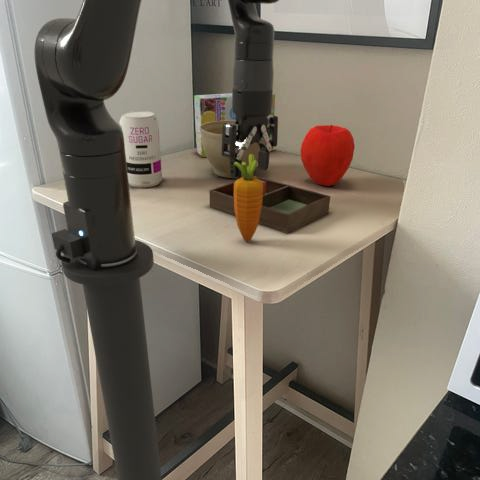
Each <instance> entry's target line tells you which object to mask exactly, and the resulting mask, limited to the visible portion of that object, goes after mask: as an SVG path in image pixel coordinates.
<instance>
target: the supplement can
mask: <svg viewBox="0 0 480 480" xmlns="http://www.w3.org/2000/svg"><path fill="white" fill-rule="evenodd" d="M118 122H119V123H118V124H119V126H120V127H121V129H122V131H123V136H124V144H125V154H126V164H127V173H128V182H129V186H131V187H134V188H140V189H141V188H152V187H156V186H159V184H160V183H161V182H162V181H163V172H162V158H161V144H160V130H159V129H160V128H159V120H158V119H157V117H156V114H155V113H154V112H153V111H147V110H133V111H126V112H123V113H121V117H120V119H119V121H118Z"/></svg>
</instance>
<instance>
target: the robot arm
mask: <svg viewBox="0 0 480 480" xmlns="http://www.w3.org/2000/svg"><path fill="white" fill-rule="evenodd" d="M279 1H280V0H227V3H228V7H229V12H230V17H231V20H232V21H231V22H232V25H233V32H234V42H233V43H234V45H233V46H234V47H233V49H234V50H233V51H234V52H233V53H234V54H233V58H234V59H233V68H232V87H231V88H232V91H231V93H232V111H233V113H234V114H235V116H236V119H235V123H234V124H229V123H224V124H223V131H222V156H224V157H228V158H229V159H230V175H231V177H232V178H231V179H234V180H238V179H240V178H241V171H240V170H239V168H238V167H236V166H235V165H234V163H235V162H238V163H239V164H241V165H242V160H240V159H241V157H242V155H243V153H244V151H245V150H247V149H248V146H249V145H251V144H253V143H257V145H258V147H259V149H260V150H259V152H258V164H257V169H259V170H260V171H267V170H269V165H270V152H272V151H271V149H272V147H273V148H276V147H277V146H278V134H279V133H278V132H279V131H278V130H279V117H278V116H277V115H274V116H273V115H269V114H270V113H271V111H272V95H273V94H274V92H273V91H274V76H275V75H274V71H275V70H274V49H275V27H274V25H273V24H272V23H271V22H270V21H268V20H265V19H263V18H261V17H260V16H259V14H258V10H257V6H256V4H262V5H271V4H276V3H278V2H279ZM141 4H142V0H82V3H81V6H80V8H79V11H78V14H77V16H76V18H71V17H70V18H68V17H67V18H66V17H60V18H59V17H58V18H54V19H51V20H48V21H47V22H46V23H44V24H43V25H42V27H41V28H40V29H39V31H38V33H37V35H36V36H35V37H36V38H35V41H34V64H35V71H36V75H37V76H36V77H37V80H38V85H39V89H40V94H41V98H42V103H43V107H44V111H45V116H46V119H47V123H48V125H49V128H50V130H51V132H52V133H53V135H54V137H55V140H56V144H57V148H58V153H59V158H60V164H61V169H62V175H63V181H64V185H65V186H64V187H65V191H66V197H67V201H64V202H63V204H62V206H63V212H64V219H65V223H66V228H64V229H60V230H58V231H54V232H51V239H52V243H53V247H54V250H56V251H55V256H56V258H57V259H58V260H59V261H60V262H61V261H64V262H67V263H69V262H70V261H71V260H70V259H69V258H67V257H63V255H64V254H65V255H67V256H69V257H71V258H73V260H75V261H77V262H79V263H80V264H82V265H84V266H86V267H88V268H90V269H92V270H94V271H97V270H100V269H107V268H115V267H119V266H123V265H125V264H128V263H130V262H131V261H133V260H134V259H135V258H136V256H137V249H136V245H135V240H136V237H135V227H134V219H133V211H132V201H131V192H130V191H131V190H130V184H129V182H128V173H127V164H126V154H125V144H124V136H123V131H122V129H121V127H120V123H118V122H117V121H116V120H115V119H114V118H113V117H112V116H111V114H110V112H109V111H108V109H107V107H106V104H105V101H107V100H109V99H111V98H112V97H113V96H115V95H116V94H117V93H118V92H119V90H120V89H121V88H122V86H123V83H124V81H125V80H126V76H127V73H128V70H129V65H130V61H131V57H132V52H133V51H132V50H133V46H134V41H135V34H136V29H137V24H138V19H139V15H140V14H139V13H140V9H141ZM270 134H271V135H272V140H270ZM239 140H240V141H241V142H242V143H240V142H238V141H239ZM228 144H229V145H230V149H229V151H228ZM237 148H239V149H238V151H237V153H235V152H236V149H237Z"/></svg>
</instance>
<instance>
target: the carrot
mask: <svg viewBox="0 0 480 480" xmlns="http://www.w3.org/2000/svg"><path fill="white" fill-rule="evenodd" d="M234 165H235V166H236V167H238V168H239V170H240V171H241V172H242V174H243V177H241V178H240V179H235V181H233V182H234V210H235V215H234V216H235V220H236V225H237V228H238V230H239V233H240V235H241V237H242V239H243V240H244V242H245V243H249V242H250V241H251V240H252V238H253V236H254V235H255V233H256V231H257V229H258V226H259V224H258V222H259V219H260V214H261V209H262V198H263V184H262V182H261V181H260V180H259V179H258V178H255V177H253V175H254V174H255V173H254V172H255V170H256V168H257V167H258V164H257V161H255V156H254V155H252V154H250V155H249V166H248V167H247V165H246V163H245V162H243V163H242V166H243V167H242V166H241V164H239V163H238V162H235V163H234Z"/></svg>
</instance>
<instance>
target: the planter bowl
mask: <svg viewBox="0 0 480 480" xmlns="http://www.w3.org/2000/svg"><path fill="white" fill-rule="evenodd" d="M224 123H229V124H234V123H235V120H225V121H213V122H208V123H204V124H202V125H201V126H200V132H201V140H202V146H203V149H204V152H205V155H206V157H205V158H206V159H207V161H208V162H209V164H210V165H211V167H212V169H213V173H214V174H215V175H216V176H219V177H222V178H227V179H233V178H232V177H231V175H230V159H229V158H228V157H224V156H222V131H223V124H224ZM238 142H240V143H242V142H241V141H240V140H239V141H238ZM229 149H230V145H229V144H228V151H229ZM238 149H239V148H237V149H236V152H235V153H237V151H238ZM259 150H260V149H259V147H258V145H257V143H253V144H251V145H249V146H248V149H247V150H245V151H244V153H243V155H242V157H241V159H240V160H242V163H243V162H245V163H246V165H247V167H248V166H249V155H250V154H252V155H254V156H255V161H257V165H258V152H259ZM241 166H242V165H241ZM242 167H243V166H242ZM241 177H243V174H242V172H241Z"/></svg>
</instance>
